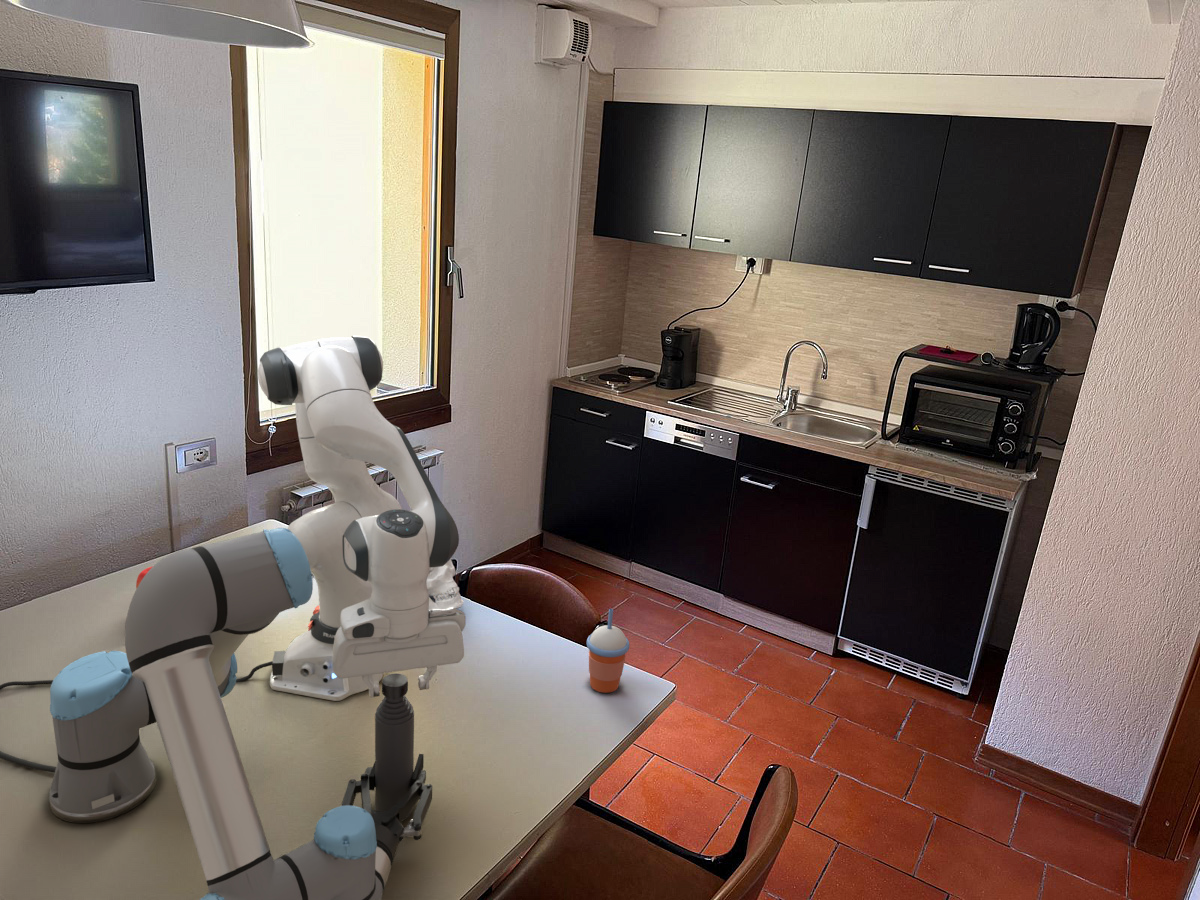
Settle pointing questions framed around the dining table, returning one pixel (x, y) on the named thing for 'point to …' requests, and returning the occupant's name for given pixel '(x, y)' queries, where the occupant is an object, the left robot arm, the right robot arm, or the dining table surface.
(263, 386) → the right robot arm
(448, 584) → the skull
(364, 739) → the dining table surface
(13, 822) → the dining table surface
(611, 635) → the cup with straw
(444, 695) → the dining table surface
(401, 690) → the cap
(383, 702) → the bottle
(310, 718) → the dining table surface
